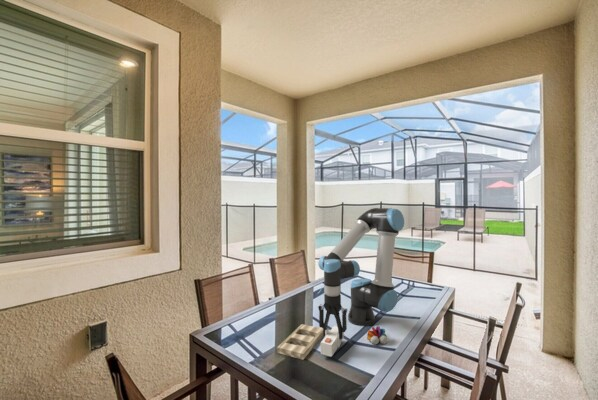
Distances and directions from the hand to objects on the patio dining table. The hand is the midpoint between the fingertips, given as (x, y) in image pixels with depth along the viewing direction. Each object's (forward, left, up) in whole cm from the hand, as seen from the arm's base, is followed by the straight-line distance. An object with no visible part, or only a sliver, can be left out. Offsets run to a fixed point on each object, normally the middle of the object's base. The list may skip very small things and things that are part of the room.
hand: (332, 344), depth 128 cm
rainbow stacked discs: (-17, -17, -3) cm, 24 cm away
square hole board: (+16, 0, -3) cm, 16 cm away
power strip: (0, 0, -3) cm, 3 cm away
